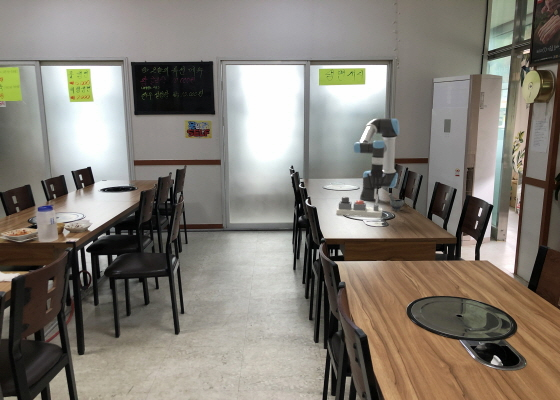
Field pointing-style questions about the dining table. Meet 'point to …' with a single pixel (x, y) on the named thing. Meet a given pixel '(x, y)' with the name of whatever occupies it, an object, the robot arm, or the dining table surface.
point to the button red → (359, 202)
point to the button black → (345, 200)
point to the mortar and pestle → (395, 203)
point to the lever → (376, 200)
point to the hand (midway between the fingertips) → (375, 198)
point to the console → (358, 210)
